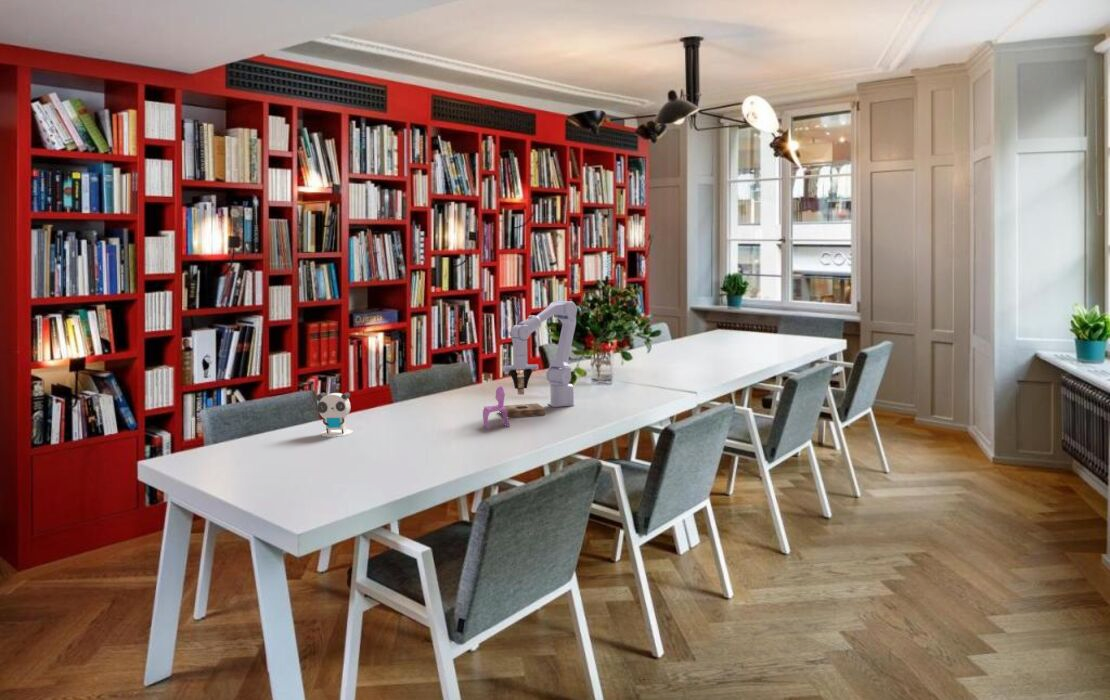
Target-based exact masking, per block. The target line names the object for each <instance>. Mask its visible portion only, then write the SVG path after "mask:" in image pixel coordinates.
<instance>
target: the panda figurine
mask: <svg viewBox="0 0 1110 700" xmlns="http://www.w3.org/2000/svg"><path fill="white" fill-rule="evenodd" d="M349 398H351V393H350V392H345V393H341V392H332V393H328V394H327V393H326V392H321V393H318V394H317V395H316V401H318V404H317V412H318V413H319V415H320V416H321V417H322V418H323V420H322V423H323V424H324V425H325V430H324V431H322V432H321V433H320V436H321V435H322V436H321V437H324V436H327V437H326V438H337V437H336V436H341V437H345V436H344V435H346V436H349V435H348V434H350V435H352V434H353V433H352V432H353V430H352V429H348V419H347V416H348V415H349V414H350V411H351V402H350V399H349ZM351 433H352V434H351Z"/></svg>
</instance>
